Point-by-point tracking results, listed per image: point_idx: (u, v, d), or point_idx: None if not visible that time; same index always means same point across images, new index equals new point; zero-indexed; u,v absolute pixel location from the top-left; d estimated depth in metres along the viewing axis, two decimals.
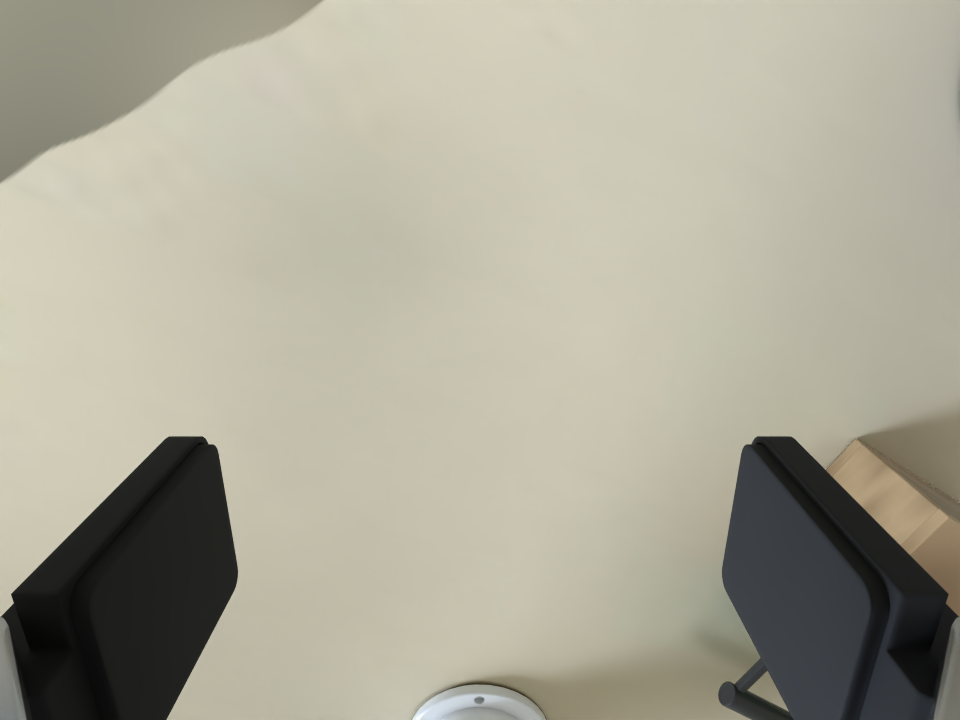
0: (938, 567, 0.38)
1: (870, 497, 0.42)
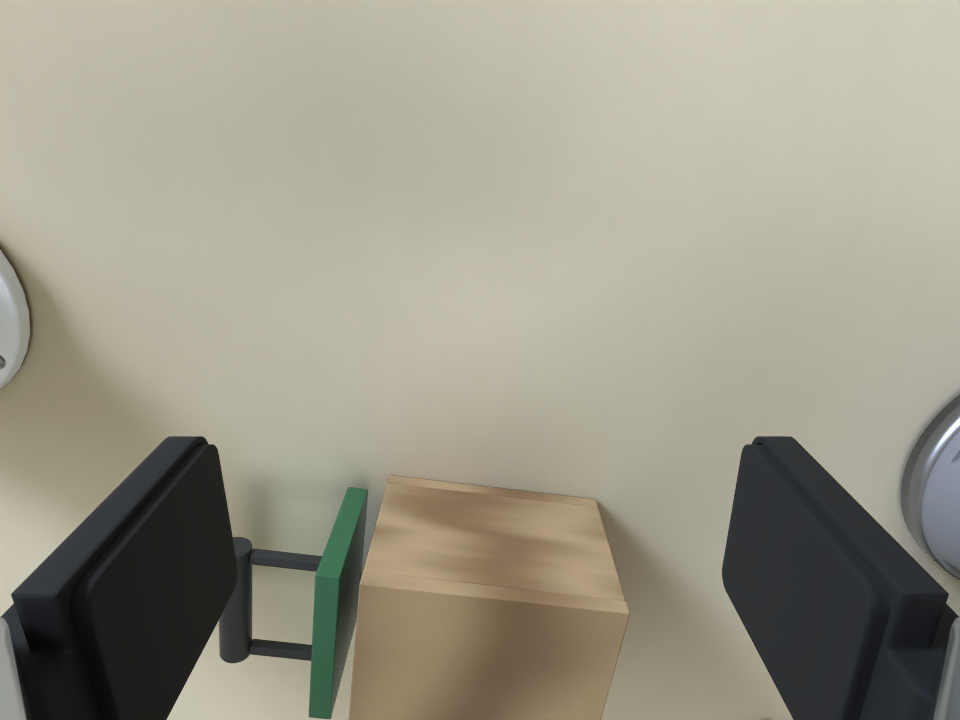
0: (562, 641, 0.31)
1: (569, 542, 0.35)
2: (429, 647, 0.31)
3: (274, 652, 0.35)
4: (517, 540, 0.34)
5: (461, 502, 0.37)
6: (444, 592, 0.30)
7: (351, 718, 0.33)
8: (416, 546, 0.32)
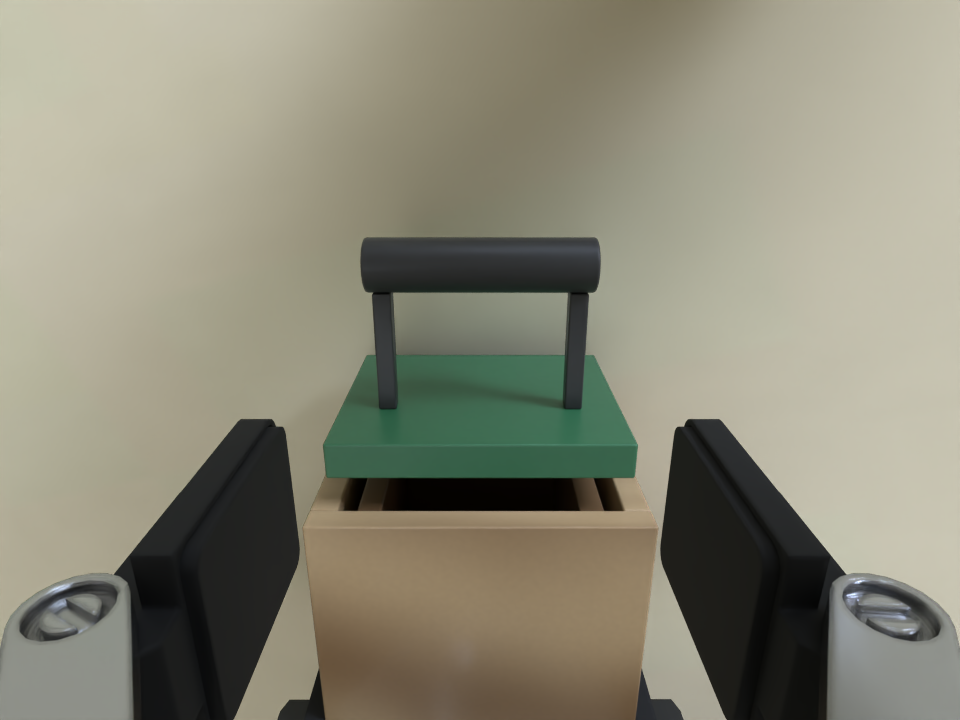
0: None
1: None
2: (542, 623, 0.20)
3: (385, 336, 0.20)
4: None
5: None
6: None
7: (370, 531, 0.19)
8: None
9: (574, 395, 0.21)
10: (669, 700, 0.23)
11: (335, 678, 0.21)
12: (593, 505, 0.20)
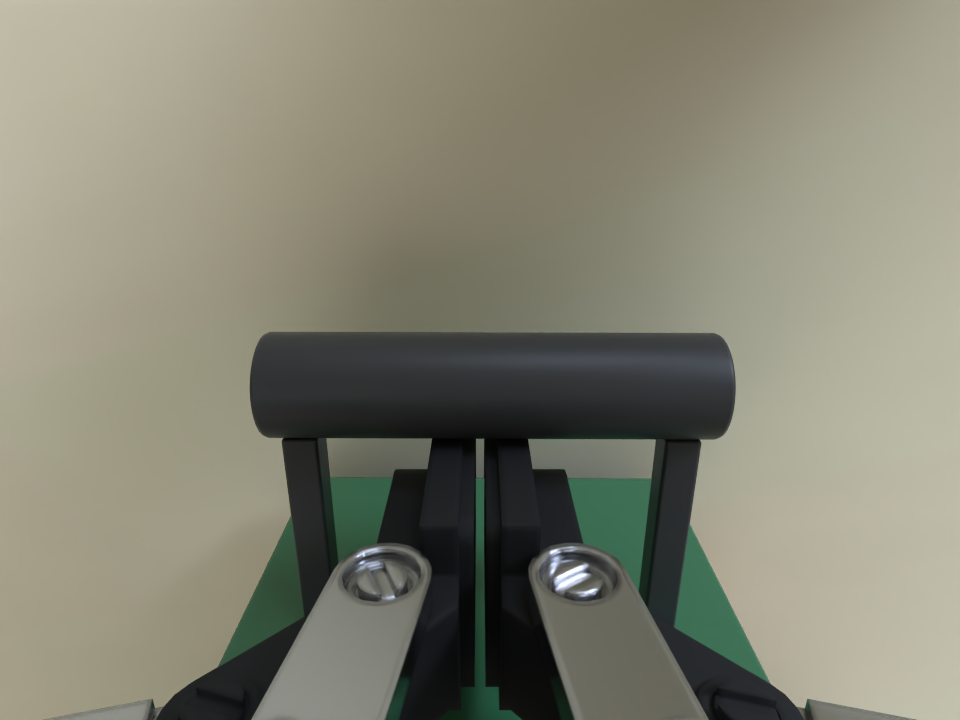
0: None
1: None
2: None
3: (310, 513, 0.11)
4: None
5: None
6: None
7: None
8: None
9: (662, 611, 0.11)
10: None
11: None
12: None
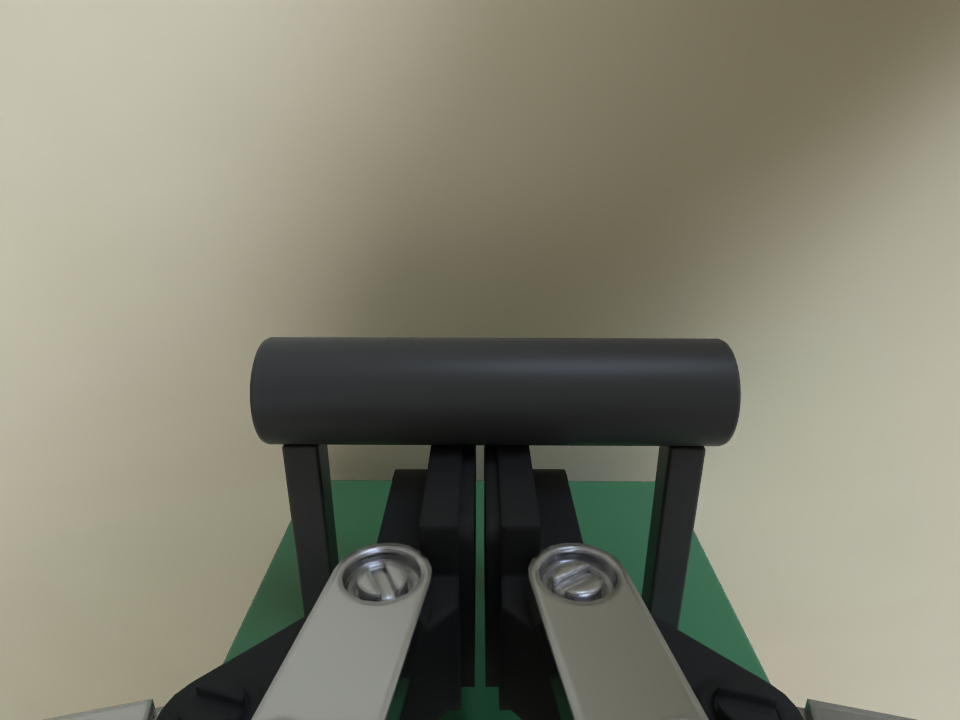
0: None
1: None
2: None
3: (311, 520, 0.11)
4: None
5: None
6: None
7: None
8: None
9: (666, 618, 0.11)
10: None
11: None
12: None
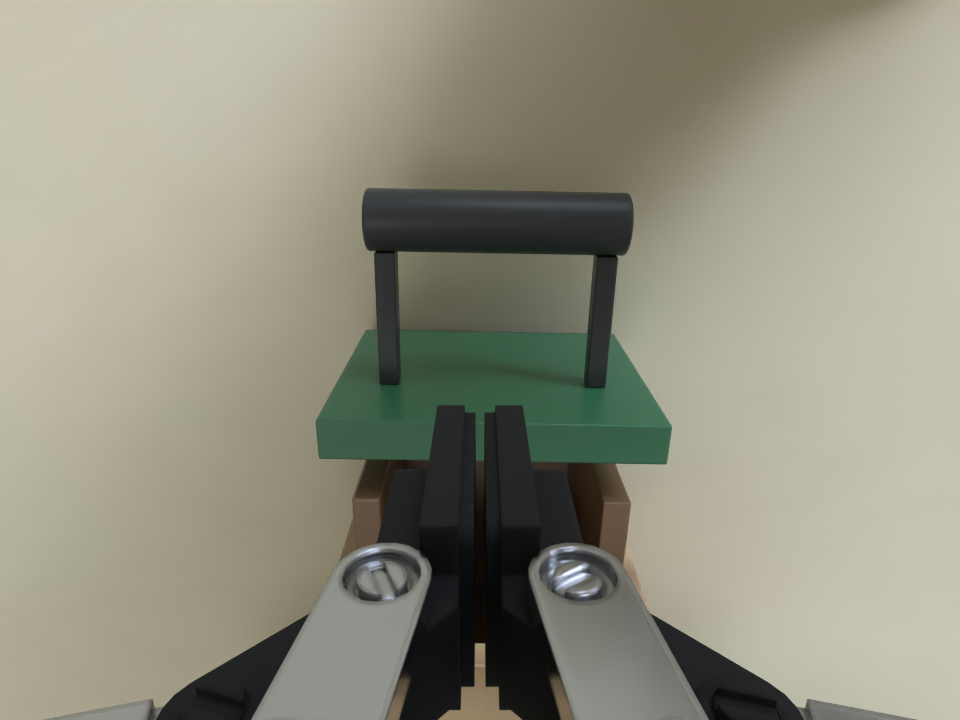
0: None
1: None
2: None
3: (388, 301, 0.18)
4: None
5: None
6: None
7: None
8: None
9: (598, 372, 0.19)
10: None
11: None
12: (618, 495, 0.18)
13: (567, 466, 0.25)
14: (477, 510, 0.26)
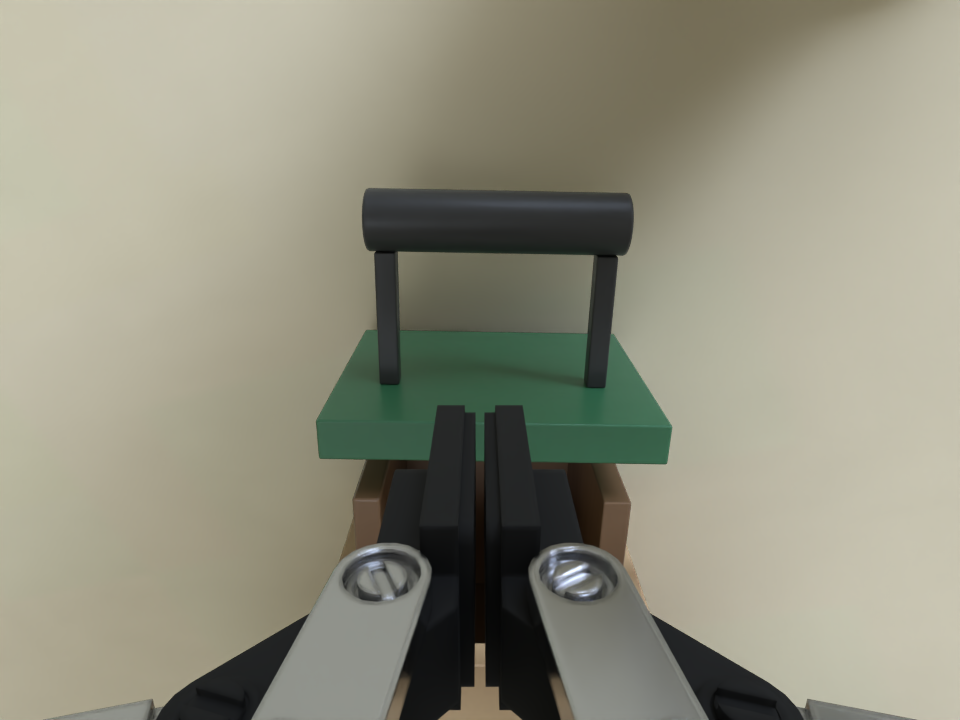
0: None
1: None
2: None
3: (388, 301, 0.18)
4: None
5: None
6: None
7: None
8: None
9: (598, 372, 0.19)
10: None
11: None
12: (618, 495, 0.18)
13: (567, 466, 0.25)
14: (477, 510, 0.26)
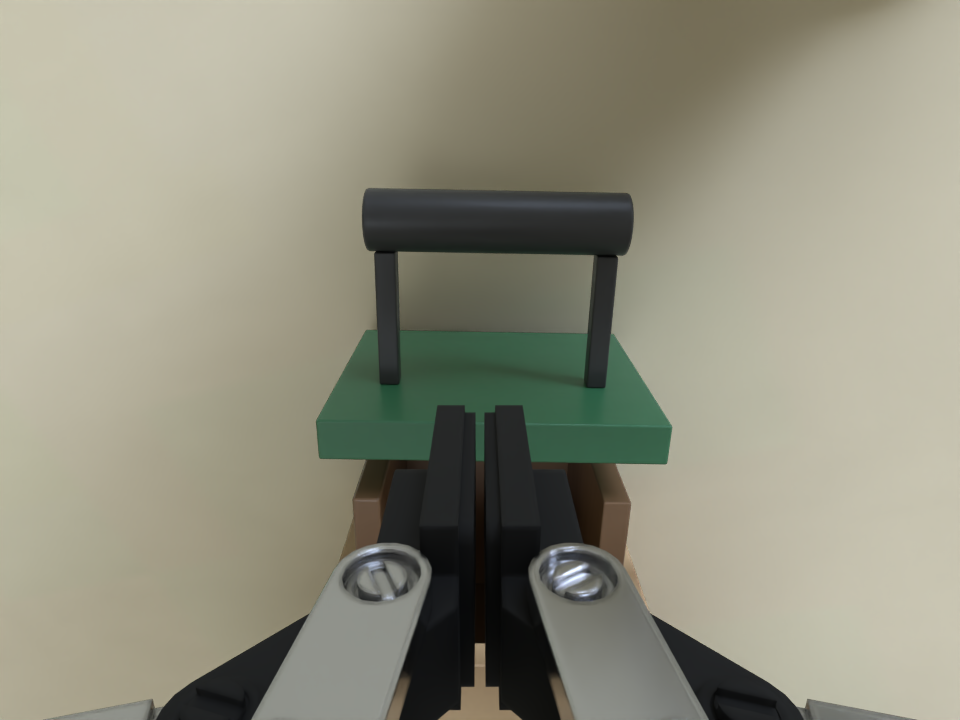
0: None
1: None
2: None
3: (388, 301, 0.18)
4: None
5: None
6: None
7: None
8: None
9: (598, 372, 0.19)
10: None
11: None
12: (618, 495, 0.18)
13: (567, 466, 0.25)
14: (477, 510, 0.26)
